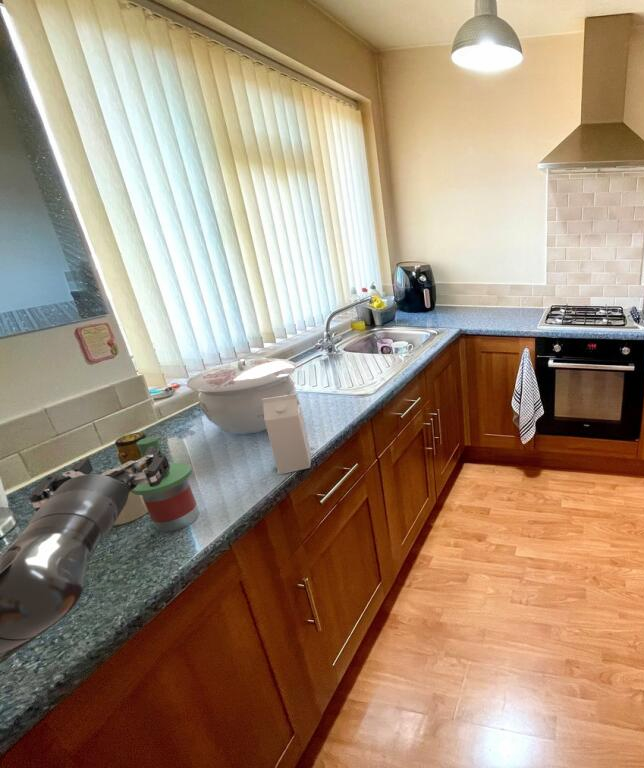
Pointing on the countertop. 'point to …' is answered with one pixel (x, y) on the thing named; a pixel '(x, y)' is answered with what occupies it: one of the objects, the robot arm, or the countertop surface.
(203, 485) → the countertop surface
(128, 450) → the condiment
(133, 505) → the cup
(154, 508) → the tin
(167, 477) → the lid
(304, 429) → the milk carton
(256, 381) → the chamber pot
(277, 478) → the countertop surface
